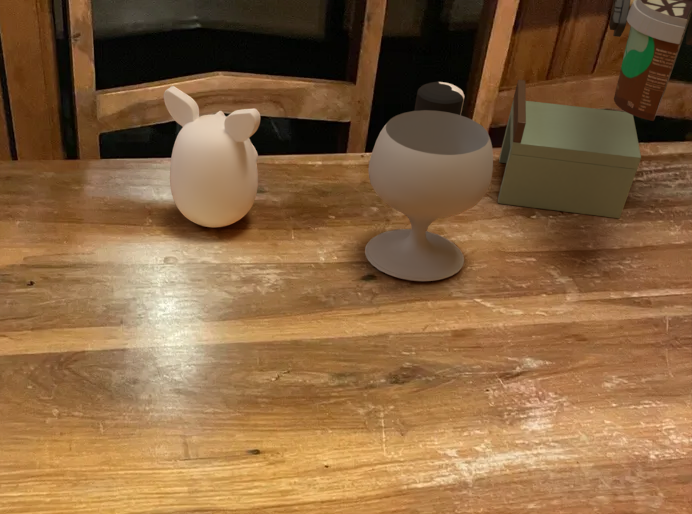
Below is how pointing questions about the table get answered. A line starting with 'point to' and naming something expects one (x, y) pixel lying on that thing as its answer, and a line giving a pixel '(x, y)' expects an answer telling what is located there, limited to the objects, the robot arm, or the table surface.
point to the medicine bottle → (440, 98)
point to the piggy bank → (212, 162)
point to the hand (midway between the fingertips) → (655, 36)
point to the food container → (650, 54)
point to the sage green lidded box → (568, 157)
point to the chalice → (427, 188)
